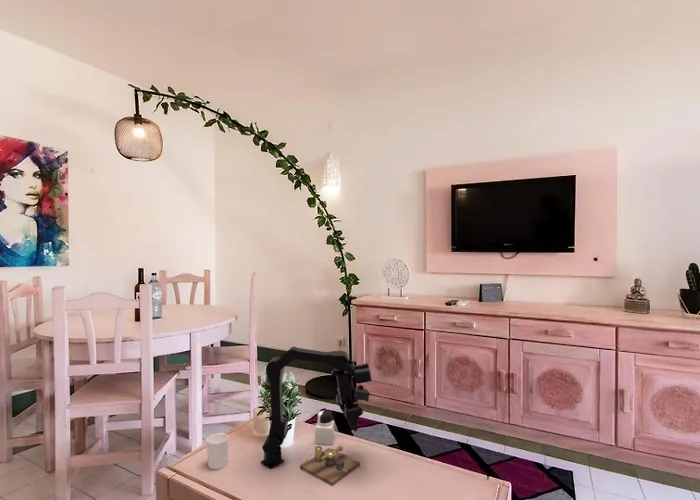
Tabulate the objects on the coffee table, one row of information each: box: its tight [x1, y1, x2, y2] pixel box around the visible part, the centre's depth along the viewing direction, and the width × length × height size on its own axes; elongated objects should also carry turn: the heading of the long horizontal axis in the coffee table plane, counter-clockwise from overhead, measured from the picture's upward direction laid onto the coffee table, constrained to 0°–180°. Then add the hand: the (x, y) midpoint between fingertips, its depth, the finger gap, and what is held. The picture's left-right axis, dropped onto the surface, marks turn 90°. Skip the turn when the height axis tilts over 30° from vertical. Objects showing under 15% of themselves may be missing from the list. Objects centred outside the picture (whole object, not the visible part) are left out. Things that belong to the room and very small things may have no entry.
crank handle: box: [314, 445, 344, 463], centre depth 141 cm, size 4×14×6 cm, turn 141°
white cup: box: [206, 432, 230, 470], centre depth 143 cm, size 8×8×10 cm
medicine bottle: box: [314, 410, 335, 446], centre depth 161 cm, size 7×7×12 cm
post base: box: [299, 447, 361, 487], centre depth 141 cm, size 16×16×4 cm
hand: (352, 425), depth 143 cm, fingers open, 9 cm apart
